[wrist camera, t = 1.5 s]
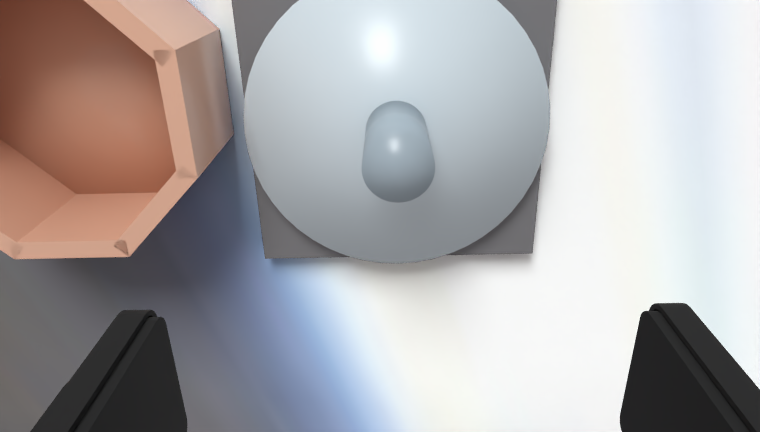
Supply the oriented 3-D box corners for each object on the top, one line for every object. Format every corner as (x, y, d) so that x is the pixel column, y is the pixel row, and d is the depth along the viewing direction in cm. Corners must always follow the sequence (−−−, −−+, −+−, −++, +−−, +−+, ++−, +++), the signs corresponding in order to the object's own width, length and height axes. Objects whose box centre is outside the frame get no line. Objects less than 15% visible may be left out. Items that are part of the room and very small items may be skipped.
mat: (554, -42, 25) (561, -41, 24) (528, 244, 31) (532, 253, 30) (233, -32, 25) (227, -31, 24) (268, 249, 31) (265, 258, 30)
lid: (560, -41, 24) (610, -38, 19) (532, 253, 30) (563, 318, 25) (227, -32, 24) (183, -26, 19) (265, 258, 30) (239, 323, 25)
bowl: (207, -57, 25) (156, -58, 19) (243, 199, 30) (211, 255, 24) (-67, -48, 25) (-194, -47, 19) (15, 204, 30) (-67, 260, 25)
